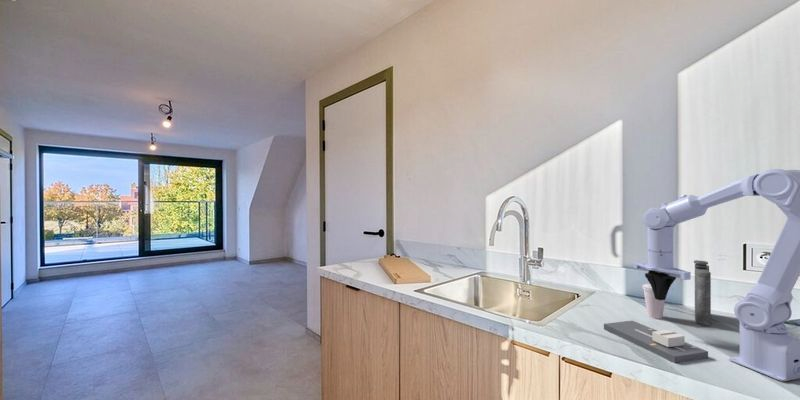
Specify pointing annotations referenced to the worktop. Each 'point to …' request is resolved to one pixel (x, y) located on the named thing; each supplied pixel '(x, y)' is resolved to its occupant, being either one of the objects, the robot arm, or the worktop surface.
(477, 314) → the worktop surface
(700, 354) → the console
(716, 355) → the worktop surface
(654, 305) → the smoothie
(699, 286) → the flask
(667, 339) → the fader knob
